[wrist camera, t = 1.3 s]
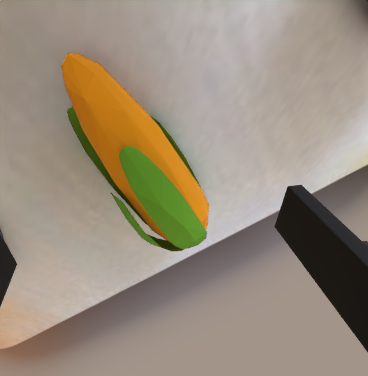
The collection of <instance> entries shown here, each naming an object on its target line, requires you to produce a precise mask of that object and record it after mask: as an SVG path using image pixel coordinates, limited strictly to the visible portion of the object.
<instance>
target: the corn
mask: <svg viewBox="0 0 368 376" xmlns="http://www.w3.org/2000/svg"><path fill="white" fill-rule="evenodd" d="M62 71H63V76H64V82H65V87H66V90H67V92H68V95H69V97H70V100H71V102H72V105H73V107H74V108H69V109H68V111H67V113H68V117H69V120H70V122H71V124H72V127H73V129H74V131H75V133H76V135H77V137H78V138H79V140H80V142H81V144H82V146H83V147H84V149H85V151H86V153H87V154H88V156H89V157H90V158H91V160H92V161H93V162H94V164H95V165H96V166H97V168H98V169H99V170H100V172H101V173H102V174H103V176H104V177H105V178H106V180H107V181H108V182H109V183H110V185H111V186H112V187H113V188H114V189H115V190H116V191H117V193H118V194H119V195H120V196H121V197H122V198H123V199H124V200H125V201H126V203H127V204H128V205H129V206H130V207H131V208H132V209H133V210H134V211H135V213H136V214H137V215H138V216H139V217H140V218H141V219H142V220H143V221H144V223H145V224H147V225H148V226H149V227H150V228H151V229H152V230H153V231H154V232H155V233H157V234H158V235H160V236H161V237H163V238H164V239H166V240H162V239H157V238H155V237H152V236H150V235H148V234H146V233H145V232H144V231H143V230H142V228H141V227H140V225H139V224H138V223H137V221H136V220H135V219H134V217H133V216H132V215H131V213H130V212H129V210H128V209H127V208H126V206H125V205H124V203H123V202H122V201H120V200H119V199H118V198H117V197H116V196H114V195H113V194H112V193H111V194H112V196H113V197H114V199H115V201H116V202H117V204H118V206H119V207H120V209H121V211H122V213H123V214H124V216H125V218H126V219H127V220H128V222H129V223H130V224H131V225H132V227H133V228H134V229H135V230H136V231H137V233H138V234H139V235H140V236H141V238H143V239H144V240H146V241H147V242H149V243H150V244H153V245H155V246H158V247H161V248H164V249H167V250H170V251H182V250H184V249H186V248H191V247H193V246H196V245H198V244H200V243H201V242H202V241H203V240H204V239H206V234H207V231H206V228H207V225H208V209H209V204H208V202H207V200H206V198H205V195H204V193H203V191H202V189H201V187H200V185H199V183H198V181H197V179H196V178H195V176H194V174H193V172H192V170H191V168H190V166H189V164H188V162H187V160H186V158H185V157H184V155H183V154H182V153H181V151H180V150H179V148H178V147H177V145H176V144H175V142H174V141H173V139H172V138H171V136H170V135H169V134H168V133H167V131H166V130H165V129H164V128H163V127H162V126H161V124H160V123H159V122H157V121H156V120H155V119H154V118H153V117H150V116H149V115H148V113H147V112H146V111H145V110H144V109H143V108H142V107H141V106H140V105H139V104H138V103H137V102H136V101H135V100H134V99H133V98H132V97H131V96H130V95H129V94H128V93H127V92H126V91H125V90H124V89H123V88H122V87H121V85H120V84H119V83H118V82H117V81H116V80H115V79H114V78H113V77H112V76H111V75H110V74H109V73H108V72H107V71H106V70H105V69H104V68H103V67H102V66H101V65H100V64H99V63H97V62H95V61H93V60H90V59H88V58H86V57H84V56H82V55H80V54H70V53H68V54H67V56H66V58H65V60H64V62H63V64H62Z"/></svg>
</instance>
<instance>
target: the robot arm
mask: <svg viewBox="0 0 368 376" xmlns="http://www.w3.org/2000/svg"><path fill="white" fill-rule="evenodd" d="M275 228H276V229H277V231H278V232H279V233H280V235H281V236H282V237H283V238H284V240H285V241H286V243H287V244H288V245H289V247H290V248H291V249H292V251H293V252H294V253H295V255H296V256H297V257H298V259H299V260H300V261H301V262H302V264H303V266H304V267H305V268H306V269H307V271H308V272H309V274H310V275H311V276H312V278H313V279H314V280H315V282H316V283H317V284H318V286H319V287H320V288H321V290H322V291H323V293H324V294H325V295H326V297H327V298H328V299H329V301H330V302H331V303H332V305H333V306H334V307H335V308H336V310H337V311H338V312H339V314H340V315H341V317H342V318H343V319H344V321H345V322H346V324H347V325H348V326H349V327H350V329H351V330H352V332H353V333H354V334H355V335H356V337H357V338H358V340H359V341H360V342H361V344H362V345H363V346H364V348H365V349H366V350H367V352H368V242H367V241H361V240H360V239H359V238H358V237H357V236H356V235H355V234H353V233H352V232H351V231H350V230H349V229H348V228H347V227H346V226H345V225H344V224H342V222H341V221H340V220H338V219H337V218H336V217H335V216H334V215H333V214H332V213H331V212H330V211H329V210H328V209H327V208H326V207H324V206H323V205H322V204H321V203H320V202H319V201H318V200H317V199H316V198H315V197H314V196H313V195H312V194H310V193H309V192H308V191H307V190H306V189H305V188H304V187H303V186H302V185H296V186H288V187H287V190H286V193H285V197H284V200H283V203H282V206H281V209H280V212H279V215H278V218H277V221H276V224H275ZM16 265H17V263H16V261H15V259H14V258H13V256H12V254H11V252H10V250H9V249H8V247H7V245H6V243H5V241H4V239H3V238H2V236H1V234H0V306H1V304H2V301H3V299H4V296H5V294H6V291H7V288H8V286H9V283H10V281H11V278H12V276H13V273H14V271H15V268H16Z"/></svg>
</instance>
